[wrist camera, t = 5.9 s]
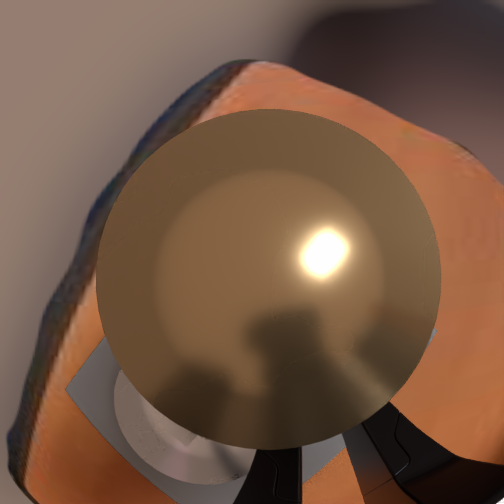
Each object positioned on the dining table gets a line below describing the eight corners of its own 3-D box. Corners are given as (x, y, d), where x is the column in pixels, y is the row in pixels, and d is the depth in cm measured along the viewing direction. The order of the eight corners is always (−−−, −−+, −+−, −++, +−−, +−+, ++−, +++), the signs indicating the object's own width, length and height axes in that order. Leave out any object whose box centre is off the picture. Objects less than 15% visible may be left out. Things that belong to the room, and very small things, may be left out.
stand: (227, 526, 13) (213, 573, 7) (72, 387, 17) (19, 398, 11) (430, 330, 16) (484, 329, 10) (252, 180, 20) (243, 126, 14)
